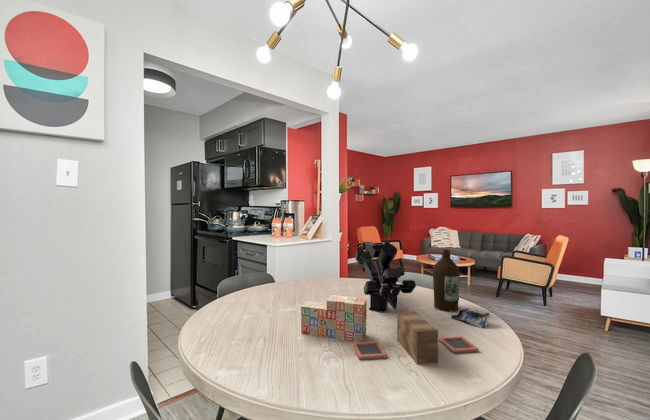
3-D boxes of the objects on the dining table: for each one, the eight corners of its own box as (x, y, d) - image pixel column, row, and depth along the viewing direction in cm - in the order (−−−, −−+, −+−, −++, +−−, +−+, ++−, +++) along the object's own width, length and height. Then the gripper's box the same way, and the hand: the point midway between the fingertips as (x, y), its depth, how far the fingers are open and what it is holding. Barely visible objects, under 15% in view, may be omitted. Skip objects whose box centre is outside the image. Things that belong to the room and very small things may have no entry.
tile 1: (352, 346, 86) (352, 342, 86) (377, 344, 87) (377, 341, 87) (359, 359, 78) (359, 356, 78) (386, 358, 79) (386, 354, 79)
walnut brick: (397, 340, 90) (397, 312, 90) (415, 339, 90) (415, 311, 90) (417, 364, 76) (417, 331, 76) (437, 363, 77) (437, 330, 77)
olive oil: (427, 304, 124) (427, 247, 124) (448, 302, 126) (448, 247, 126) (442, 313, 113) (443, 251, 113) (465, 311, 116) (465, 250, 116)
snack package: (459, 329, 100) (494, 329, 98) (457, 310, 101) (492, 310, 99) (448, 321, 111) (479, 321, 110) (447, 304, 112) (477, 304, 111)
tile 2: (438, 340, 89) (438, 337, 89) (461, 339, 90) (461, 336, 90) (453, 353, 81) (453, 350, 81) (478, 351, 82) (478, 348, 82)
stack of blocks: (300, 333, 95) (300, 297, 95) (307, 326, 101) (307, 292, 100) (363, 343, 88) (363, 304, 88) (366, 335, 94) (366, 298, 94)
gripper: (365, 259, 103) (374, 299, 92) (414, 258, 105) (428, 297, 95) (360, 275, 111) (367, 313, 100) (405, 274, 113) (417, 311, 103)
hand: (395, 308), depth 99 cm, fingers closed
